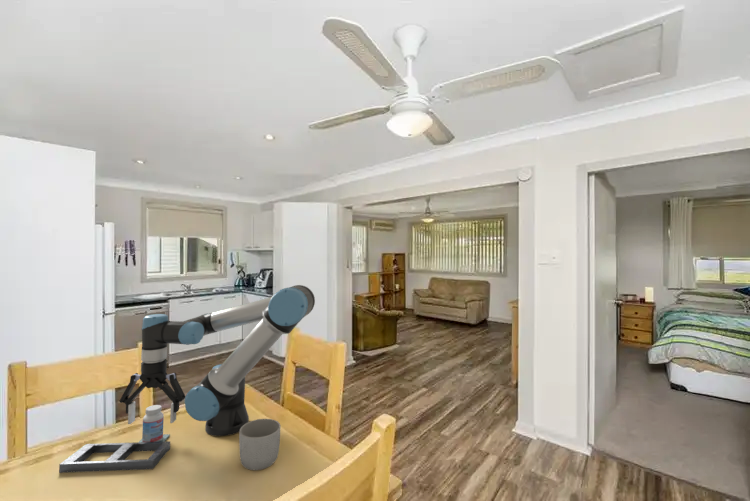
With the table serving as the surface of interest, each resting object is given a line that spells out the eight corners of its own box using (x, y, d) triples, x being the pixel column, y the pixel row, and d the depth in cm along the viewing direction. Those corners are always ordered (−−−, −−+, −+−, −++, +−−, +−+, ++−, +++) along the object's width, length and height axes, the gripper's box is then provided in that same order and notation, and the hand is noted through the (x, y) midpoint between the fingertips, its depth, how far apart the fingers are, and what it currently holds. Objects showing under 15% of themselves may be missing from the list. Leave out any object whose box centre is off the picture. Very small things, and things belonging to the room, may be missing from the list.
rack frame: (170, 448, 117) (170, 441, 117) (152, 469, 106) (153, 460, 106) (85, 451, 114) (86, 443, 114) (59, 472, 103) (59, 464, 103)
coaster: (169, 435, 125) (169, 434, 125) (158, 448, 117) (158, 446, 117) (145, 436, 124) (145, 434, 124) (132, 449, 116) (132, 447, 116)
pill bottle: (153, 446, 117) (154, 412, 117) (137, 444, 118) (138, 410, 118) (167, 437, 123) (168, 404, 123) (152, 435, 124) (153, 403, 124)
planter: (237, 455, 114) (238, 422, 114) (276, 448, 118) (277, 415, 119) (239, 478, 102) (240, 441, 102) (282, 469, 107) (283, 433, 107)
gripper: (196, 356, 125) (194, 415, 125) (122, 356, 123) (120, 417, 123) (187, 363, 118) (185, 426, 118) (108, 363, 115) (106, 428, 115)
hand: (152, 421), depth 120 cm, fingers open, 13 cm apart
